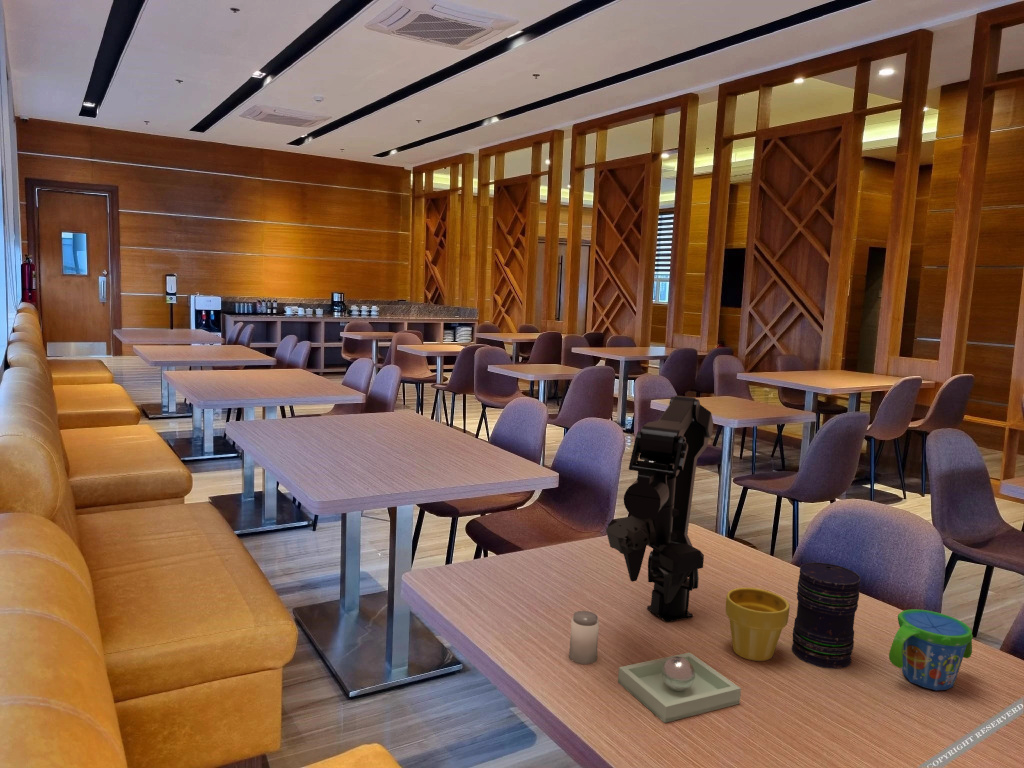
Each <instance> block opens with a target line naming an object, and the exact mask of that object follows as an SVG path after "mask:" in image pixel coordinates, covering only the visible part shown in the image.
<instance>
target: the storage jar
mask: <svg viewBox="0 0 1024 768" xmlns="http://www.w3.org/2000/svg"><path fill="white" fill-rule="evenodd" d="M860 582H861V576H860V574H858V573H857V572H855V571H853V570H851V569H849V568H847V567H844V566H840V565H836V564H830V563H825V562H809V563H808V562H807V563H804V564H801V565H800V567H799V575H798V581H797V592H796V599H797V608H796V617H795V618H794V624H793V628H792V645H791V652H792V654H793V655H794V656H795V657H797V659H799V660H801V661H803V662H804V663H807V664H809V665H812V666H814V667H818V668H823V669H828V670H829V669H832V670H833V669H834V670H835V669H836V670H839V669H845V668H847V667H849V666H850V665H851V663H852V657H851V656H852V654H853V650H854V644H855V640H854V638H855V630H854V625H855V614H856V612H857V610H858V608H859V607H858V606H859V604H858V602H859V600H860V584H861V583H860Z"/></svg>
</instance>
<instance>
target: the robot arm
mask: <svg viewBox="0 0 1024 768" xmlns="http://www.w3.org/2000/svg"><path fill="white" fill-rule="evenodd" d="M713 430H714V419H713V415H712V412H711V411H710V410H708V409H707V408H706V407H705V406H703V405H702V404H701V403H700V399H698V398H696V397H695V396H694V397H692V396H683V395H675V396H671V397H670V399H669V404H668V406H667V408H665V410H664V412H663V413H662V414H661V416H660V417H659V419H658V420H656V421H649V422H647V423H645V424H644V425H643V426H641V429H640V431H639V430H638V431H637V432H636V435H635V439H634V442H633V448H632V451H631V455H630V460H629V461H630V462H629V465H628V470H629V471H632V472H633V471H634V472H637V477H636V479H635V481H634V482H633V483H632V484H631V485H630V486H628V488H627V489H626V491H625V493H624V495H623V505H624V507H625V509H626V511H627V513H628V514H629V515H630V516H625V517H618V518H612V519H611V520H610V522H609V523H608V524H607V527H606V528H605V532H606V536H607V539H608V543H609V547H610V548H611V549H615V550H616V551H618V552H619V554H622V555H623V556H624V561H625V564H626V568H627V572H628V577H629V580H630V581H631V582H637V581H638V578H639V576H640V572H641V568H642V565H643V562H644V561H643V560H644V557H645V552H646V549H647V547H649V548H651V549H652V550H651V551H650V552H649V555H648V560H647V582H648V583H653V589H652V590H651V600H650V605H648V606H647V607H646V610H648V611H650V612H651V613H652V614H654V615H656V616H657V617H658V618H660V619H662V620H663V621H665V622H667V623H668V622H675V621H680V620H684V619H690V618H694V614H693V613H692V612H690V611H689V601H690V592H692V591H693V590H695V589H696V590H697V589H698V588H699V578H700V577H699V569H703V568H704V561H705V554H704V553H703V552H702V551H701V550H700V549H698V548H696V547H694V546H693V544H692V541H691V540H690V537H689V535H688V533H689V525H690V516H691V511H692V510H691V509H692V502H693V501H692V500H693V493H694V487H695V477H696V470H697V463H698V458H699V457H700V456H701V455H702V453H704V452H705V450H706V449H707V448H708V443H709V439H711V438H712V436H713Z"/></svg>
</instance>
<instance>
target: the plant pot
mask: <svg viewBox="0 0 1024 768" xmlns="http://www.w3.org/2000/svg"><path fill="white" fill-rule="evenodd" d="M789 614H790V603H789V601H788V600H787V599H786V598H785V597H783V596H781V595H779V594H777V593H776V592H773V591H771V590H770V591H769V590H766V589H762V588H756V587H738V588H733V589H731V590H729V591H728V592H727V594H726V598H725V615H726V617H727V618H728V619H729V620H728V621H729V626H730V633H731V635H730V636H731V642H732V649H733V652H734V653H735V654H736V655H738V656H739V657H741V658H743V659H745V660H749V661H755V662H764V661H768V660H770V659H772V657H773V656H774V653H775V650H776V647H777V644H778V642H779V639H780V636H781V634H782V630H783V629H784V628H785V627H786V626H787V625H788V622H789Z"/></svg>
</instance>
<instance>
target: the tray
mask: <svg viewBox="0 0 1024 768" xmlns="http://www.w3.org/2000/svg"><path fill="white" fill-rule="evenodd" d="M672 657H682V658H685V659H687V660H688V661H689V662H690V663H691V664H692V666H693V668H694V671H695V680H694V682H693V684H692V686H691V687H690V688H689V689H687V690H685V691H675V690H672V689H671V688H669V687H668V686H667V685H666V684H665V682H664V680H663V677H662V668H663V665H664V664H665V662H666V661H667V660H668V659H670V658H672ZM617 683H618V684H619V685H620V686H621V687H623V688H624V689H625V690H626V691H627V692H629V694H630V695H632V696H633V697H634V698H635V699H636V700H638V701H639V703H641V704H643V706H645V707H646V708H647V709H648V710H649V711H650V712H652V713H653V714H654V715H655V716H656V717H657V718H658V719H659V720H661V721H662V722H663V723H664V724H665V723H670V722H675V721H678V720H682V719H685V718H690V717H694V716H697V715H700V714H701V715H702V714H704V713H710V712H713V711H716V710H721V709H724V708H728V707H732V706H735V705H739V704H740V700H741V691H742V688H741V687H740V686H739V685H737V684H735V683H734V682H733V681H732V680H730V679H729V678H727V677H725V676H724V675H723V674H721V673H720V672H718V670H715V669H714V668H712V667H711V666H710V665H709V664H708V663H705V661H703V660H702V659H700V658H698V657H697V656H695V654H693V653H691V652H690V651H689V652H685V653H681V654H680V653H679V654H676V655H671V656H666V657H665V656H664V657H661V658H657V659H652V660H647V661H642V662H638V663H633V664H628V665H624V666H619V667H618V679H617Z"/></svg>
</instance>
